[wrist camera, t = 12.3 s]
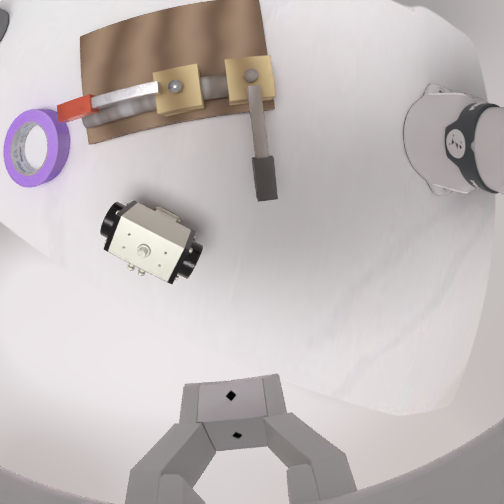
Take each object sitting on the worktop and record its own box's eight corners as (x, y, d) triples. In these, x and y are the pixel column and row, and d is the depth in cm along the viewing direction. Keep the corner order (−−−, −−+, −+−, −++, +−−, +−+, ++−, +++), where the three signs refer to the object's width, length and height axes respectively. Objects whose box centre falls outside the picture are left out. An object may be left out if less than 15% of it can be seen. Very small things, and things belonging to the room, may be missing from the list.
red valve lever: (68, 106, 26) (57, 105, 23) (182, 78, 27) (177, 73, 24) (70, 122, 27) (58, 122, 24) (183, 95, 27) (179, 91, 25)
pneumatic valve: (135, 188, 38) (101, 210, 27) (208, 225, 41) (200, 261, 30) (121, 222, 39) (86, 254, 28) (190, 257, 42) (179, 301, 31)
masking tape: (75, 173, 36) (63, 178, 33) (22, 189, 36) (9, 195, 32) (67, 99, 32) (54, 98, 28) (14, 123, 31) (0, 124, 28)
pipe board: (256, 2, 29) (265, -32, 19) (280, 181, 39) (296, 196, 30) (85, 40, 28) (52, 21, 19) (108, 210, 39) (77, 232, 29)
